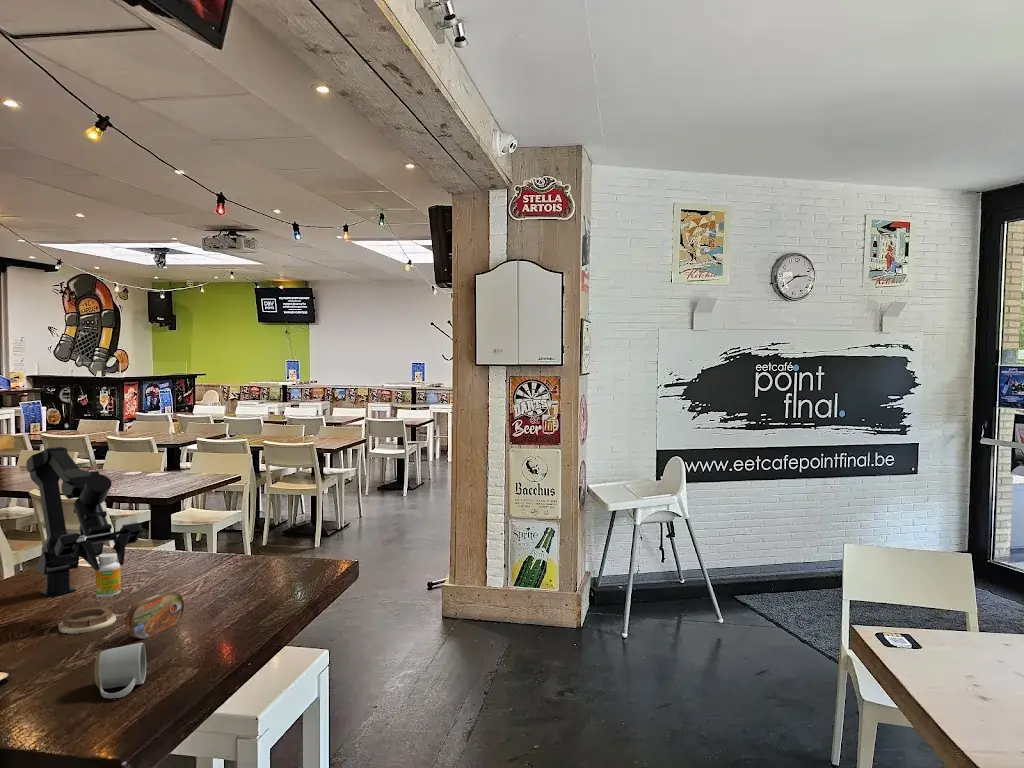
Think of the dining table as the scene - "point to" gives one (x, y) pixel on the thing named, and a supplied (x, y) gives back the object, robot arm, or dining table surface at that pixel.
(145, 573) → the dining table surface
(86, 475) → the robot arm
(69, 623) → the collar stand
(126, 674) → the ceramic mug
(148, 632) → the tin
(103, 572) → the supplement bottle
